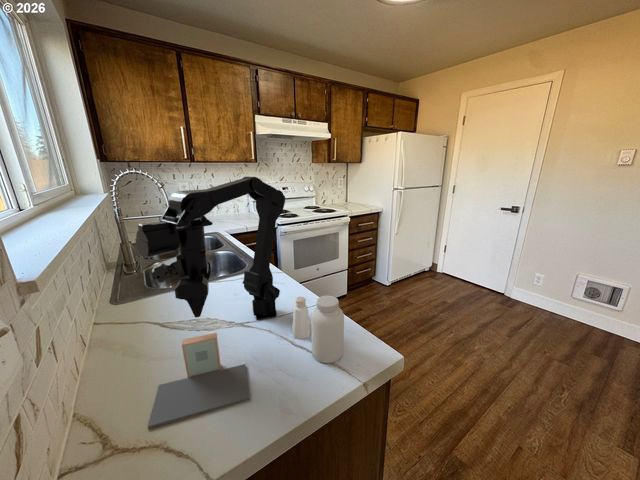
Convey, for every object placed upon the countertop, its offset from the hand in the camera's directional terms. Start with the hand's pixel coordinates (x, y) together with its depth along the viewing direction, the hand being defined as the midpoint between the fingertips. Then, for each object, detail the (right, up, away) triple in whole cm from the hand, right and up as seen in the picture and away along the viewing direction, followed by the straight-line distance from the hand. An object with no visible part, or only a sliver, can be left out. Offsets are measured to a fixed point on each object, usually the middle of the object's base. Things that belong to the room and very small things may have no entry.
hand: (199, 307), depth 66 cm
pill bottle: (+32, -12, +2) cm, 34 cm away
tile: (+3, -14, -4) cm, 15 cm away
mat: (+5, -16, -10) cm, 19 cm away
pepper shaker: (+25, -10, +10) cm, 28 cm away
